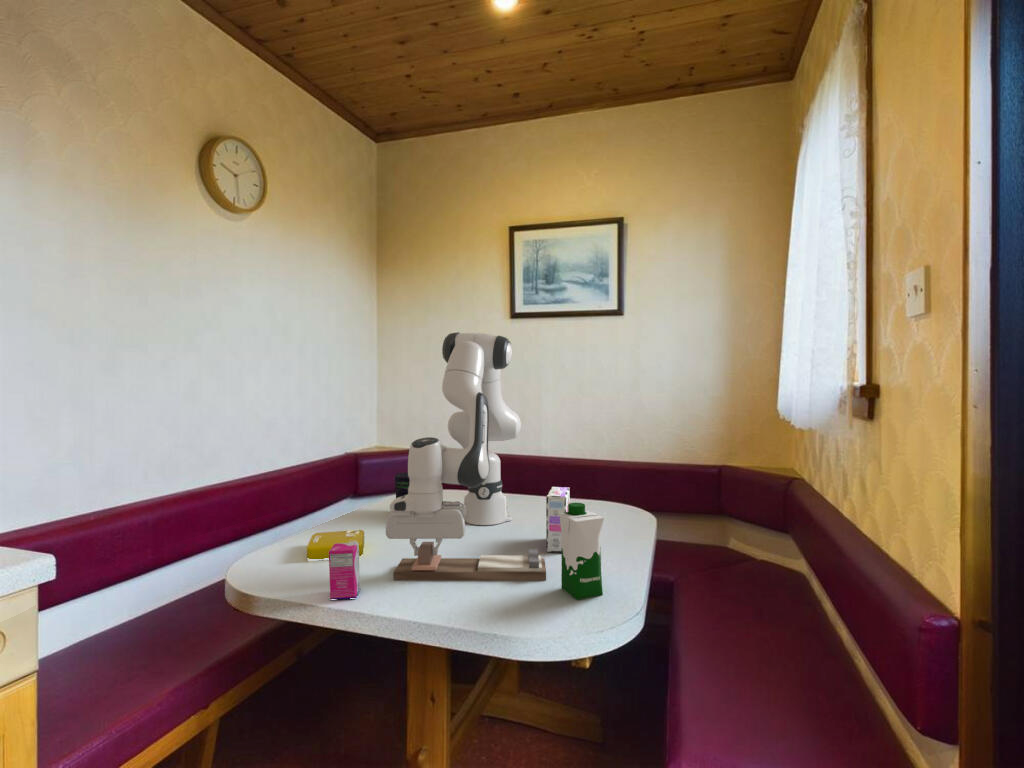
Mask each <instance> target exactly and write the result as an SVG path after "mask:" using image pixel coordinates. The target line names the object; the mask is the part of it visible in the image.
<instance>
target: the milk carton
mask: <svg viewBox="0 0 1024 768" xmlns="http://www.w3.org/2000/svg"><path fill="white" fill-rule="evenodd" d="M559 515H560V524H561V590H563V591H564V592H565V593H567V594H568V595H569V596H571V597H572V598H573V599H575V600H576V601H579V600H583V599H588V598H593V597H598V596H603V577H602V530H603V525H604V520H605V519H604V517H603V516H601V515H599V514H597V513H595V512H592V511H591V510H587V509H586V504H585V503H582V502H570V504H568V512H564V513H559Z"/></svg>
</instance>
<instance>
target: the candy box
mask: <svg viewBox="0 0 1024 768" xmlns="http://www.w3.org/2000/svg"><path fill="white" fill-rule="evenodd" d="M570 493H571V492H570V487H567V486H565V487H561V486H551V488H550V490H549V491H548V494H547V495H546V498H545V499H546V500H545V501H546V503H545V504H546V505H545V506H546V507H545V508H546V509H545V512H546V513H545V514H546V516H545V517H546V518H545V519H546V520H545V521H546V525H545V526H546V535H545V537H546V552H548V553H556V554H557V553H558V554H559V553H561V524H560V515H559V513H564V512H568V504H570V503H571V502H570V501H571V498H570Z"/></svg>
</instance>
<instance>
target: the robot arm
mask: <svg viewBox="0 0 1024 768" xmlns="http://www.w3.org/2000/svg"><path fill="white" fill-rule="evenodd" d="M442 343H443V344H442V348H441V349H442V350H441V351H442V352H441V353H442V358H443V360H444V361H445V363H447V364H446V367H445V370H444V375H443V379H442V383H441V384H442V385H441V387H442V388H441V389H442V394H443V396H444V398H445V399H446V401H447V402H448V403H449V404H451V405H453V406H454V407H455V408H457V409H459V410H461V411H456V412H453V414H451V415H450V417H449V419H448V423H447V431H448V433H449V435H450V436H451V438H452V439H453V440H454V441H456V442H457V443H458V444H460V446H461V447H462V448H456V447H455V448H454V447H448V446H444V444H441V442H440V440H439V439H438V438H437V437H432V436H431V437H423V438H418V439H415V440H413V441H412V442H411V444H410V445H409V450H408V458H407V459H408V460H407V472H408V476H409V480H410V484H409V488H408V495H404V496H401V497H398V498H396V497H395V499H393V500H392V501H391V503H390V504H389V510H390V512H389V513H388V515H387V517H386V523H385V536H386V537H387V539H390V540H392V539H394V540H398V539H399V540H402V539H403V540H407V539H408V540H409V544H410V546H411V548H412V549H413V556H417V557H418V548H419V547H420V546H418V544H417V540H418V539H419V540H422V539H423V540H425V539H426V540H430V539H431V540H433V539H435V543H436V545H435V546H434V547H432V549H431V552H432V553H431V555H432V556H437V555H439V548H440V546H441V544H442V542H443V540H444V539H445V540H446V539H447V540H448V539H452V540H453V539H454V540H455V539H457V540H458V539H462V538H463V537H464V536H465V535H466V523H467V524H470V525H475V526H492V525H499V524H502V523H505V522H509V521H510V522H511V521H512V520H513V517H512V515H511V514H510V513H509V511H508V510H507V509H508V506H507V496H506V495H505V494H504V493H503V492H502V490H503V481H502V478H501V473H502V472H501V459H500V457H499V455H498V454H496V453H495V452H493V451H491V450H489V442H505V441H510V440H514V439H516V438H517V437H518V436H519V435H520V433H521V429H522V421H521V418H520V416H519V415H518V413H516V411H514V410H512V409H511V408H509V406H508V405H507V404H506V402H505V401H504V398H503V396H502V395H503V394H502V387H501V383H502V382H501V370H503V369H505V368H507V367H508V366H509V365H510V362H511V359H512V357H513V349H512V348H513V347H512V343H511V341H510V340H509V338H507V337H506V336H503V335H493V334H489V333H488V334H486V333H481V332H478V333H476V332H475V333H474V332H473V333H472V332H463V333H462V332H461V333H460V332H458V331H457V332H452V333H449V334H447V335H446V336H445V338H444V339H443V342H442ZM442 484H447V485H457V486H463V487H466V488H467V491H468V492H467V494H465V496H464V497H463V502H461V501H459V500H458V501H456V500H455V501H444V490H443V489H444V488H443V485H442Z"/></svg>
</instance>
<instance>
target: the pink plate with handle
mask: <svg viewBox="0 0 1024 768" xmlns="http://www.w3.org/2000/svg"><path fill="white" fill-rule="evenodd" d="M418 547H419V548H418V556H417V557H416V558H417V559H416V561H415V562H414V564H413V566H412V570H436V569H437V566H438V564H439V562H440V560H441V558H442V554H438V555H437V556H432V555H431V553H432V552H431V549H432V547H435V542H434V541H422V542H421V543H420V545H419V546H418Z"/></svg>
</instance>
